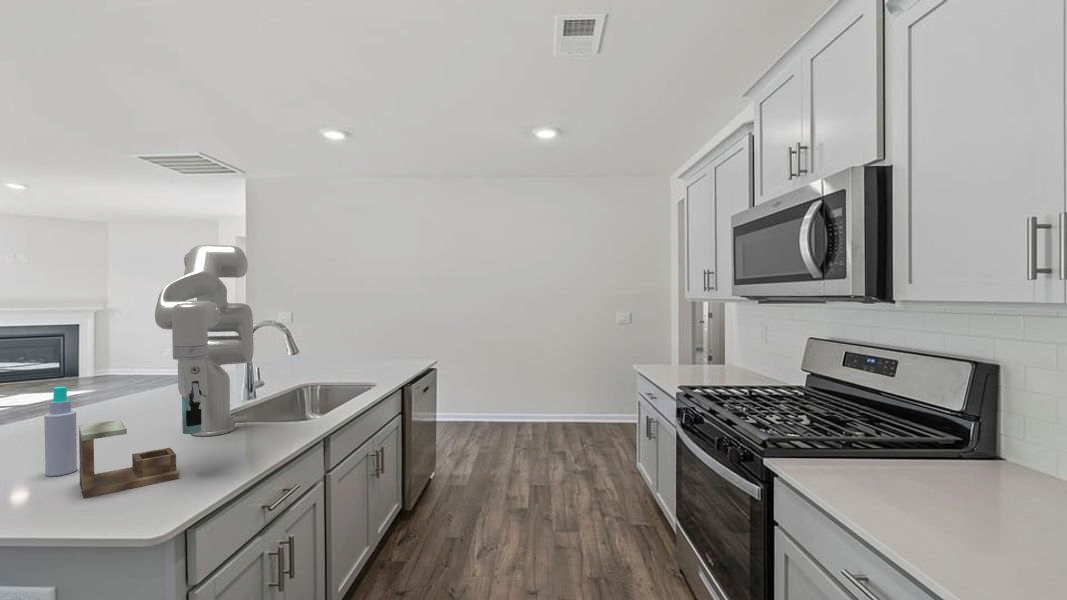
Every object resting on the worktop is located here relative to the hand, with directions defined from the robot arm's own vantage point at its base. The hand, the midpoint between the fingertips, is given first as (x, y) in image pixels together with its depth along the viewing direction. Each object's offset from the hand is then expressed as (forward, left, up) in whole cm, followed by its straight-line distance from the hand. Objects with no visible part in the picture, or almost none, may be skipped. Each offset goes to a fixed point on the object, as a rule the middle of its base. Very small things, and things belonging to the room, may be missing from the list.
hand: (191, 422), depth 133 cm
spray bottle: (+24, -24, -13) cm, 37 cm away
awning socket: (+12, -5, -13) cm, 19 cm away
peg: (0, 0, -2) cm, 2 cm away
